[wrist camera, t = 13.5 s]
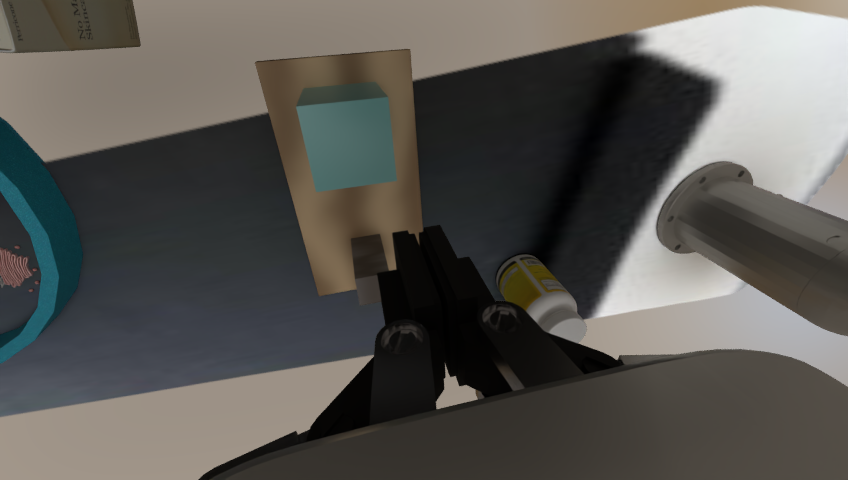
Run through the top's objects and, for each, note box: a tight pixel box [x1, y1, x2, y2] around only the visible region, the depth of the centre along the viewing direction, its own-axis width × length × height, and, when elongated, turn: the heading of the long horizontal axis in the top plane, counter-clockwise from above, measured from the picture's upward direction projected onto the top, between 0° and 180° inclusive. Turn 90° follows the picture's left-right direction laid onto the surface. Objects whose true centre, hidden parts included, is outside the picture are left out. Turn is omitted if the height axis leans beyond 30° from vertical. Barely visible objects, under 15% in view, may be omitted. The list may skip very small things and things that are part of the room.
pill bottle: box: [496, 254, 587, 343], centre depth 41 cm, size 6×6×11 cm
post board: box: [255, 49, 423, 306], centre depth 32 cm, size 12×23×8 cm, turn 3°
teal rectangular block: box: [296, 82, 397, 192], centre depth 28 cm, size 6×6×8 cm
